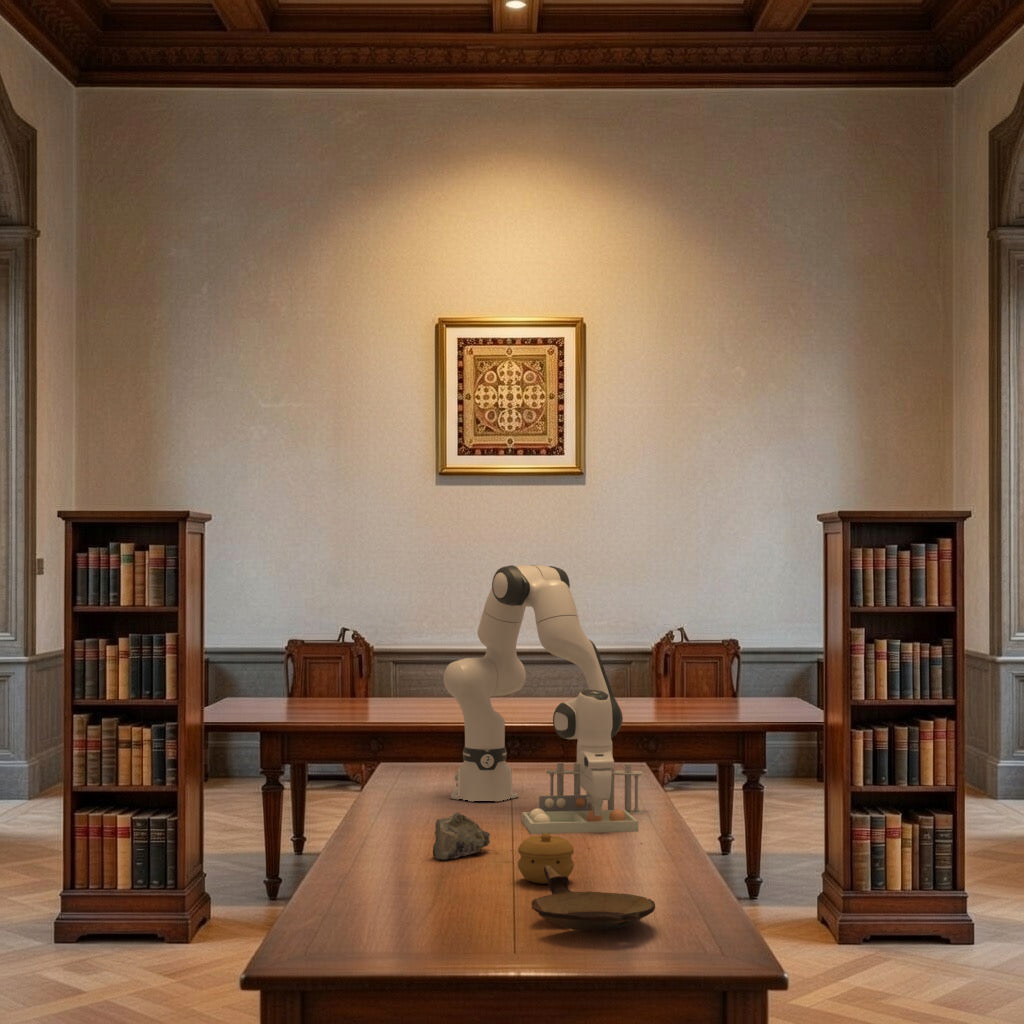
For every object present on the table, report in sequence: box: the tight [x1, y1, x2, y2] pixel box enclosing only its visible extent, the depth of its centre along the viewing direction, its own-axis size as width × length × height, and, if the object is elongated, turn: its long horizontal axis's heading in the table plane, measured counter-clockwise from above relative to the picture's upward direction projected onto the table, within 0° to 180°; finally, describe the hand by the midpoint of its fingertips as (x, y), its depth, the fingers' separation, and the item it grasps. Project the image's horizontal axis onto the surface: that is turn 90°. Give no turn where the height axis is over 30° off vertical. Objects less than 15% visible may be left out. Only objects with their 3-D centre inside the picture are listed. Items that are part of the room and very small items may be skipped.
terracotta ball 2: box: [609, 808, 625, 821], centre depth 343 cm, size 4×4×4 cm
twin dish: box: [521, 809, 639, 835], centre depth 341 cm, size 15×26×3 cm, turn 98°
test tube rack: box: [546, 761, 643, 815], centre depth 362 cm, size 25×4×13 cm, turn 85°
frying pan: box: [531, 865, 656, 932], centre depth 255 cm, size 22×30×8 cm
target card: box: [538, 794, 591, 812], centre depth 354 cm, size 1×16×6 cm, turn 98°
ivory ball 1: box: [530, 807, 545, 822], centre depth 343 cm, size 4×4×4 cm
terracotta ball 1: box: [586, 810, 602, 822], centre depth 342 cm, size 4×4×4 cm
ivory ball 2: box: [534, 813, 550, 823], centre depth 337 cm, size 4×4×4 cm
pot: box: [517, 833, 575, 885], centre depth 287 cm, size 12×12×10 cm
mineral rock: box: [432, 811, 491, 861], centre depth 310 cm, size 13×11×10 cm
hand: (594, 812), depth 342 cm, fingers open, 6 cm apart
